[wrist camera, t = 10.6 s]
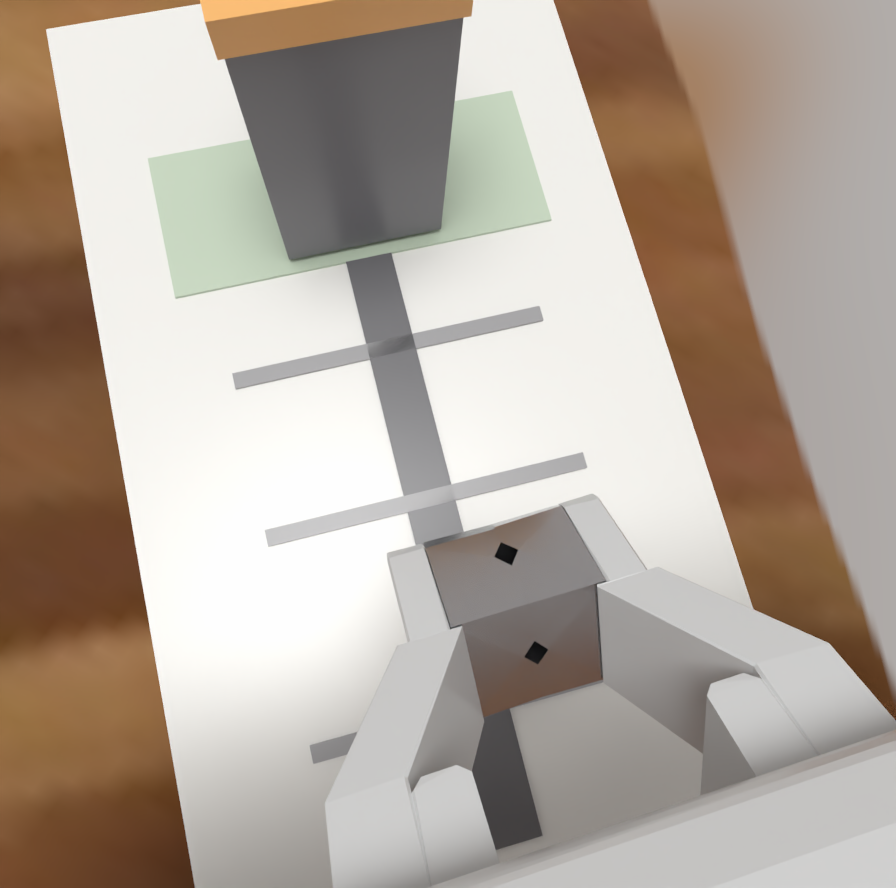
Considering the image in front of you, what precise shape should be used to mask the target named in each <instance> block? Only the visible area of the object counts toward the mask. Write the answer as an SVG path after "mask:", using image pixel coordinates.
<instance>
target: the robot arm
mask: <svg viewBox="0 0 896 888" xmlns="http://www.w3.org/2000/svg"><path fill="white" fill-rule="evenodd" d="M387 562H388V566H389V570H390V574H391V578H392V582H393V586H394V590H395V594H396V598H397V602H398V606H399V610H400V614H401V618H402V622H403V626H404V630H405V634H406V638H407V641H408V642H407V643H404V644H401V645H397V647H396V649H395V651H394V653H393V655H392V658H391V660H390V662H389V664H388V666H387V669H386V671H385V673H384V675H383V677H382V679H381V682H380V684H379V686H378V688H377V690H376V693H375V695H374V697H373V699H372V701H371V704H370V706H369V708H368V710H367V712H366V714H365V717H364V719H363V721H362V723H361V725H360V728H359V730H358V732H357V734H356V736H355V738H354V741H353V743H352V745H351V747H350V749H349V752H348V754H347V756H346V758H345V760H344V762H343V765H342V767H341V769H340V771H339V773H338V776H337V778H336V780H335V782H334V784H333V786H332V789H331V791H330V793H329V795H328V797H327V800H326V802H325V813H326V823H327V833H328V843H329V853H330V863H331V873H332V883H333V888H896V720H895V719H894V718H893V717H892V716H891V715H890V713H889V712H888V711H887V710H886V709H885V708H884V706H883V705H882V704H881V703H880V702H879V701H878V699H877V698H876V697H875V696H874V695H873V694H872V692H871V691H870V690H869V689H868V688H867V687H866V686H865V684H864V683H863V682H862V681H861V680H860V679H859V677H858V676H857V675H856V674H855V673H854V672H853V670H852V669H851V668H850V667H849V666H848V665H847V663H846V662H845V661H844V660H843V659H842V658H841V656H840V655H839V654H838V653H837V652H836V651H835V649H834V648H833V647H832V646H831V645H830V644H829V643H828V642H825V641H823V640H821V639H819V638H816V637H814V636H812V635H810V634H807V633H805V632H803V631H801V630H798V629H796V628H794V627H792V626H789V625H787V624H785V623H783V622H781V621H778V620H776V619H774V618H772V617H769V616H767V615H765V614H763V613H760V612H758V611H756V610H754V609H751V608H749V607H747V606H745V605H742V604H740V603H738V602H736V601H733V600H731V599H729V598H727V597H725V596H722V595H720V594H718V593H716V592H713V591H711V590H709V589H707V588H704V587H702V586H700V585H698V584H695V583H693V582H691V581H689V580H686V579H684V578H682V577H680V576H677V575H675V574H673V573H671V572H669V571H666V570H664V569H662V568H660V567H655V568H652V569H648V570H647V568H646V567H645V565H644V564H643V562H642V561H641V559H640V558H639V556H638V555H637V553H636V552H635V550H634V549H633V547H632V546H631V544H630V543H629V542H628V540H627V539H626V537H625V536H624V534H623V533H622V531H621V530H620V528H619V527H618V525H617V524H616V522H615V521H614V519H613V518H612V516H611V515H610V514H609V512H608V511H607V509H606V508H605V506H604V505H603V503H602V502H601V500H600V499H599V497H598V496H596V495H594V494H589V495H586V496H582V497H579V498H576V499H573V500H569V501H566V502H563V503H560V504H559V505H555V506H551V507H548V508H544V509H541V510H538V511H534V512H531V513H528V514H524V515H521V516H518V517H514V518H511V519H508V520H504V521H501V522H497V523H494V524H491V525H487V526H484V527H480V528H476V529H472V530H469V531H465V532H461V533H457V534H453V535H450V536H446V537H442V538H438V539H434V540H431V541H427V542H423V545H422V544H419V545H415V546H411V547H407V548H403V549H399V550H396V551H392V552H388V553H387ZM600 680H603V683H605V684H606V685H607V686H609V687H610V688H612V689H613V690H614V691H616V692H617V693H619V694H620V695H621V696H623V697H624V698H626V699H627V700H628V701H630V702H631V703H633V704H634V705H635V706H637V707H638V708H640V709H641V710H642V711H644V712H645V713H647V714H648V715H649V716H651V717H652V718H654V719H655V720H656V721H658V722H659V723H661V724H662V725H663V726H665V727H666V728H667V729H669V730H670V731H672V732H673V733H674V734H676V735H677V736H679V737H680V738H681V739H683V740H684V741H686V742H687V743H688V744H690V745H691V746H693V747H694V748H695V749H697V750H698V751H700V752H701V753H702V754H703V762H702V777H701V792H700V796H697V797H694V798H691V799H688V800H685V801H682V802H679V803H676V804H673V805H670V806H667V807H665V808H662V809H659V810H656V811H653V812H650V813H647V814H644V815H641V816H638V817H635V818H632V819H629V820H626V821H623V822H620V823H617V824H614V825H611V826H608V827H605V828H602V829H599V830H596V831H594V832H591V833H588V834H585V835H582V836H579V837H576V838H573V839H570V840H567V841H564V842H561V843H558V844H555V845H552V846H549V847H546V848H543V849H540V850H537V851H534V852H531V853H528V854H525V855H523V856H520V857H517V858H514V859H511V860H508V861H505V862H502V863H499V859H498V856H497V853H496V849H495V846H494V843H493V839H492V836H491V833H490V830H489V826H488V823H487V820H486V816H485V813H484V810H483V806H482V803H481V800H480V796H479V793H478V790H477V787H476V783H475V780H474V777H473V773H472V768H473V764H474V760H475V756H476V752H477V748H478V744H479V740H480V736H481V732H482V728H483V724H484V718H483V717H486V716H489V715H492V714H495V713H497V712H500V711H503V710H506V709H509V708H512V707H515V706H518V705H520V704H523V703H526V702H529V701H532V700H535V699H538V698H541V697H542V696H543V697H544V696H547V695H551V694H554V693H558V692H561V691H565V690H568V689H572V688H575V687H579V686H582V685H586V684H589V683H593V682H596V681H600Z"/></svg>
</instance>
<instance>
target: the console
mask: <svg viewBox="0 0 896 888" xmlns="http://www.w3.org/2000/svg"><path fill="white" fill-rule="evenodd" d="M46 31H47V37H48V43H49V49H50V54H51V60H52V66H53V72H54V77H55V83H56V89H57V95H58V101H59V106H60V112H61V118H62V124H63V129H64V135H65V141H66V147H67V152H68V158H69V164H70V170H71V176H72V181H73V187H74V193H75V199H76V204H77V210H78V216H79V222H80V227H81V233H82V239H83V245H84V250H85V256H86V262H87V268H88V274H89V279H90V285H91V291H92V297H93V302H94V308H95V314H96V320H97V325H98V331H99V337H100V343H101V349H102V354H103V360H104V366H105V372H106V377H107V383H108V389H109V395H110V400H111V406H112V412H113V418H114V423H115V429H116V435H117V441H118V447H119V452H120V458H121V464H122V470H123V475H124V481H125V487H126V493H127V498H128V504H129V510H130V516H131V522H132V527H133V533H134V539H135V545H136V550H137V556H138V562H139V568H140V573H141V579H142V585H143V591H144V596H145V602H146V608H147V614H148V620H149V625H150V631H151V637H152V643H153V648H154V654H155V660H156V666H157V671H158V677H159V683H160V689H161V695H162V700H163V706H164V712H165V718H166V723H167V729H168V735H169V741H170V746H171V752H172V758H173V764H174V769H175V775H176V781H177V787H178V793H179V798H180V804H181V810H182V816H183V821H184V827H185V833H186V839H187V844H188V850H189V856H190V862H191V868H192V873H193V879H194V885H195V888H333V883H332V873H331V863H330V853H329V843H328V833H327V823H326V813H325V802H326V800H327V797H328V795H329V793H330V791H331V789H332V786H333V784H334V782H335V780H336V778H337V776H338V773H339V771H340V769H341V767H342V765H343V762H344V760H345V758H346V756H347V754H348V752H349V749H350V747H351V745H352V743H353V741H354V738H355V736H356V734H357V732H358V730H359V728H360V725H361V723H362V721H363V719H364V717H365V714H366V712H367V710H368V708H369V706H370V704H371V701H372V699H373V697H374V695H375V693H376V690H377V688H378V686H379V684H380V682H381V679H382V677H383V675H384V673H385V671H386V669H387V666H388V664H389V662H390V660H391V658H392V655H393V653H394V651H395V649H396V647H397V645H401V644H404V643H407V642H408V641H407V638H406V634H405V630H404V626H403V622H402V618H401V614H400V610H399V606H398V602H397V598H396V594H395V590H394V586H393V582H392V578H391V574H390V570H389V566H388V562H387V553H388V552H392V551H396V550H399V549H403V548H407V547H411V546H415V545H419V544H422V545H423V542H427V541H431V540H434V539H438V538H442V537H446V536H450V535H453V534H457V533H461V532H465V531H469V530H472V529H476V528H480V527H484V526H487V525H491V524H494V523H497V522H501V521H504V520H508V519H511V518H514V517H518V516H521V515H524V514H528V513H531V512H534V511H538V510H541V509H544V508H548V507H551V506H555V505H559V504H560V503H563V502H566V501H569V500H573V499H576V498H579V497H582V496H586V495H589V494H594V495H596V496H598V497H599V499H600V500H601V502H602V503H603V505H604V506H605V508H606V509H607V511H608V512H609V514H610V515H611V516H612V518H613V519H614V521H615V522H616V524H617V525H618V527H619V528H620V530H621V531H622V533H623V534H624V536H625V537H626V539H627V540H628V542H629V543H630V544H631V546H632V547H633V549H634V550H635V552H636V553H637V555H638V556H639V558H640V559H641V561H642V562H643V564H644V565H645V567H646V568H647V570H648V569H652V568H655V567H660V568H662V569H664V570H666V571H669V572H671V573H673V574H675V575H677V576H680V577H682V578H684V579H686V580H689V581H691V582H693V583H695V584H698V585H700V586H702V587H704V588H707V589H709V590H711V591H713V592H716V593H718V594H720V595H722V596H725V597H727V598H729V599H731V600H733V601H736V602H738V603H740V604H742V605H745V606H747V607H749V608H751V609H753V607H752V604H751V600H750V597H749V594H748V591H747V588H746V585H745V582H744V579H743V576H742V573H741V570H740V567H739V564H738V561H737V558H736V555H735V552H734V549H733V546H732V543H731V540H730V537H729V534H728V530H727V527H726V524H725V521H724V518H723V515H722V512H721V509H720V506H719V503H718V500H717V497H716V494H715V491H714V488H713V485H712V482H711V479H710V476H709V473H708V470H707V467H706V464H705V461H704V457H703V454H702V451H701V448H700V445H699V442H698V439H697V436H696V433H695V430H694V427H693V424H692V421H691V418H690V415H689V412H688V409H687V406H686V403H685V400H684V397H683V394H682V391H681V387H680V384H679V381H678V378H677V375H676V372H675V369H674V366H673V363H672V360H671V357H670V354H669V351H668V348H667V345H666V342H665V339H664V336H663V333H662V330H661V327H660V324H659V321H658V318H657V314H656V311H655V308H654V305H653V302H652V299H651V296H650V293H649V290H648V287H647V284H646V281H645V278H644V275H643V272H642V269H641V266H640V263H639V260H638V257H637V254H636V251H635V248H634V244H633V241H632V238H631V235H630V232H629V229H628V226H627V223H626V220H625V217H624V214H623V211H622V208H621V205H620V202H619V199H618V196H617V193H616V190H615V187H614V184H613V181H612V178H611V174H610V171H609V168H608V165H607V162H606V159H605V156H604V153H603V150H602V147H601V144H600V141H599V138H598V135H597V132H596V129H595V126H594V123H593V120H592V117H591V114H590V111H589V108H588V105H587V101H586V98H585V95H584V92H583V89H582V86H581V83H580V80H579V77H578V74H577V71H576V68H575V65H574V62H573V59H572V56H571V53H570V50H569V47H568V44H567V41H566V38H565V35H564V31H563V28H562V25H561V22H560V19H559V16H558V13H557V10H556V7H555V4H554V1H553V0H473V7H472V16H470V17H464V18H463V27H462V36H461V46H460V55H459V64H458V74H457V83H456V93H455V102H454V111H453V121H452V130H451V139H450V149H449V158H448V168H447V177H446V186H445V196H444V205H443V215H442V224H441V229H437V230H432V231H428V232H423V233H418V234H413V235H408V236H403V237H398V238H394V239H389V240H384V241H379V242H374V243H369V244H364V245H359V246H355V247H350V248H345V249H340V250H335V251H330V252H325V253H320V254H316V255H311V256H306V257H301V258H296V259H291V260H289V258H288V255H287V252H286V248H285V245H284V242H283V239H282V236H281V233H280V230H279V227H278V224H277V221H276V217H275V214H274V211H273V208H272V205H271V202H270V199H269V196H268V193H267V190H266V186H265V183H264V180H263V177H262V174H261V171H260V168H259V165H258V162H257V159H256V155H255V152H254V149H253V146H252V143H251V140H250V137H249V134H248V131H247V128H246V124H245V121H244V118H243V115H242V112H241V109H240V106H239V103H238V100H237V97H236V93H235V90H234V87H233V84H232V81H231V78H230V75H229V72H228V69H227V66H226V62H225V59H222V60H217V57H216V54H215V51H214V48H213V45H212V42H211V39H210V36H209V33H208V30H207V27H206V24H205V21H204V16H203V11H202V7H201V4H197V5H191V6H185V7H179V8H173V9H167V10H160V11H154V12H148V13H142V14H136V15H130V16H124V17H118V18H112V19H106V20H100V21H94V22H88V23H82V24H76V25H69V26H63V27H57V28H51V29H46ZM483 718H484V724H483V728H482V732H481V736H480V740H479V744H478V748H477V752H476V756H475V760H474V764H473V768H472V773H473V777H474V780H475V783H476V787H477V790H478V793H479V796H480V800H481V803H482V806H483V810H484V813H485V816H486V820H487V823H488V826H489V830H490V833H491V836H492V839H493V843H494V846H495V849H496V853H497V856H498V859H499V863H502V862H505V861H508V860H511V859H514V858H517V857H520V856H523V855H525V854H528V853H531V852H534V851H537V850H540V849H543V848H546V847H549V846H552V845H555V844H558V843H561V842H564V841H567V840H570V839H573V838H576V837H579V836H582V835H585V834H588V833H591V832H594V831H596V830H599V829H602V828H605V827H608V826H611V825H614V824H617V823H620V822H623V821H626V820H629V819H632V818H635V817H638V816H641V815H644V814H647V813H650V812H653V811H656V810H659V809H662V808H665V807H667V806H670V805H673V804H676V803H679V802H682V801H685V800H688V799H691V798H694V797H697V796H700V792H701V777H702V762H703V754H702V753H701V752H700V751H698V750H697V749H695V748H694V747H693V746H691V745H690V744H688V743H687V742H686V741H684V740H683V739H681V738H680V737H679V736H677V735H676V734H674V733H673V732H672V731H670V730H669V729H667V728H666V727H665V726H663V725H662V724H661V723H659V722H658V721H656V720H655V719H654V718H652V717H651V716H649V715H648V714H647V713H645V712H644V711H642V710H641V709H640V708H638V707H637V706H635V705H634V704H633V703H631V702H630V701H628V700H627V699H626V698H624V697H623V696H621V695H620V694H619V693H617V692H616V691H614V690H613V689H612V688H610V687H609V686H607V685H606V684H605V683H603V680H600V681H596V682H593V683H589V684H586V685H582V686H579V687H575V688H572V689H568V690H565V691H561V692H558V693H554V694H551V695H547V696H544V697H543V696H542V697H541V698H538V699H535V700H532V701H529V702H526V703H523V704H520V705H518V706H515V707H512V708H509V709H506V710H503V711H500V712H497V713H495V714H492V715H489V716H486V717H483Z"/></svg>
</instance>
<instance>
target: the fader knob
mask: <svg viewBox="0 0 896 888" xmlns="http://www.w3.org/2000/svg"><path fill="white" fill-rule="evenodd" d="M200 2H201V7H202V11H203V16H204V21H205V24H206V27H207V30H208V33H209V36H210V39H211V42H212V45H213V48H214V51H215V54H216V57H217V60H222V59H225V62H226V66H227V69H228V72H229V75H230V78H231V81H232V84H233V87H234V90H235V93H236V97H237V100H238V103H239V106H240V109H241V112H242V115H243V118H244V121H245V124H246V128H247V131H248V134H249V137H250V140H251V143H252V146H253V149H254V152H255V155H256V159H257V162H258V165H259V168H260V171H261V174H262V177H263V180H264V183H265V186H266V190H267V193H268V196H269V199H270V202H271V205H272V208H273V211H274V214H275V217H276V221H277V224H278V227H279V230H280V233H281V236H282V239H283V242H284V245H285V248H286V252H287V255H288V258H289V260H291V259H296V258H301V257H306V256H311V255H316V254H320V253H325V252H330V251H335V250H340V249H345V248H350V247H355V246H359V245H364V244H369V243H374V242H379V241H384V240H389V239H394V238H398V237H403V236H408V235H413V234H418V233H423V232H428V231H432V230H437V229H441V224H442V215H443V205H444V196H445V186H446V177H447V168H448V158H449V149H450V139H451V130H452V121H453V111H454V102H455V93H456V83H457V74H458V64H459V55H460V46H461V36H462V27H463V18H464V17H470V16H472V7H473V0H200Z"/></svg>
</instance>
